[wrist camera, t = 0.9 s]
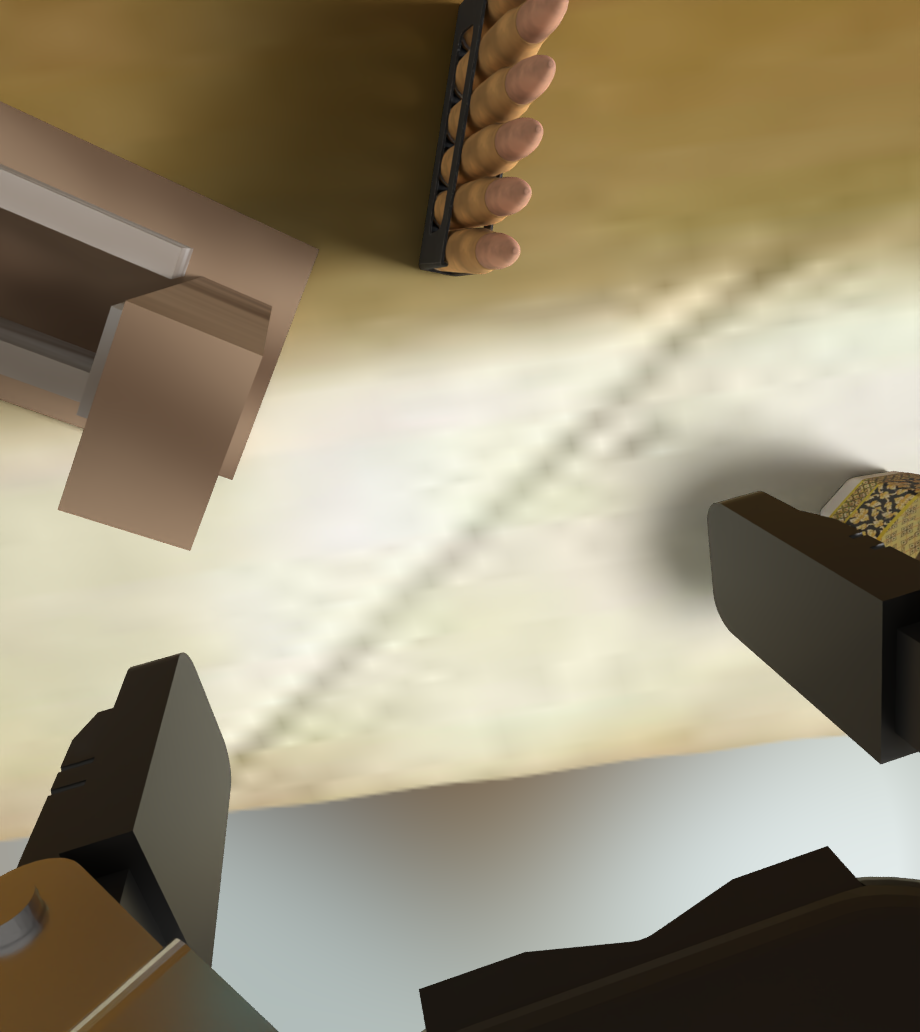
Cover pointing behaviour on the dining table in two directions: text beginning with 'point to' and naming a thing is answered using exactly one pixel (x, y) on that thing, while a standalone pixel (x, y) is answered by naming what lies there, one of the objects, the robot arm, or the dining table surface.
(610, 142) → the dining table surface
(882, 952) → the robot arm
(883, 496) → the ceramic cup
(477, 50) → the ammunition clip
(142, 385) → the hinge frame
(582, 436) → the dining table surface
